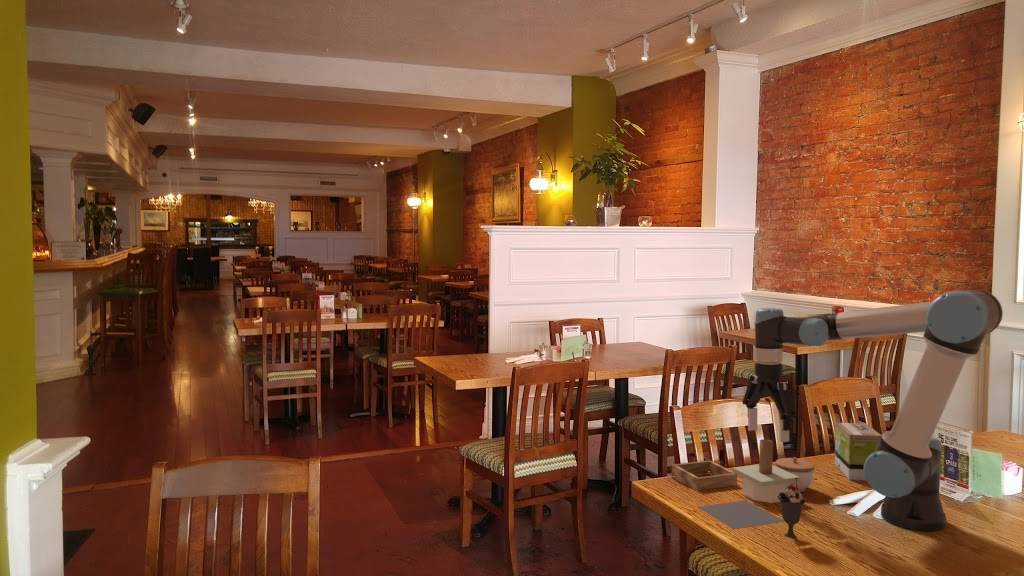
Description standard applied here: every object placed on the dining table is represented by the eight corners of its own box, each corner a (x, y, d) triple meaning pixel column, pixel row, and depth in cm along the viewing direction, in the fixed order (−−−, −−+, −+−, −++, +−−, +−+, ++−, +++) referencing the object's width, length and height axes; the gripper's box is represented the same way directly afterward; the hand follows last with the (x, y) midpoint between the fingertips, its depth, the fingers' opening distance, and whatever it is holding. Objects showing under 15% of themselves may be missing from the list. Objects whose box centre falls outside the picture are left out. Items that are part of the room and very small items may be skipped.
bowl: (795, 501, 204) (796, 480, 204) (761, 506, 200) (761, 485, 200) (768, 487, 215) (768, 468, 215) (735, 492, 212) (735, 472, 211)
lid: (799, 481, 203) (800, 445, 203) (761, 486, 199) (762, 449, 198) (769, 467, 216) (770, 433, 215) (732, 471, 211) (733, 437, 211)
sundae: (803, 534, 181) (805, 476, 180) (805, 545, 175) (807, 485, 174) (776, 531, 183) (777, 473, 182) (776, 541, 177) (778, 481, 176)
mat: (784, 523, 188) (784, 521, 188) (733, 531, 183) (733, 529, 183) (746, 502, 203) (746, 500, 203) (697, 509, 198) (697, 506, 198)
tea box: (833, 465, 237) (835, 421, 236) (865, 466, 236) (867, 422, 235) (848, 480, 222) (849, 433, 221) (882, 482, 221) (884, 434, 220)
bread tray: (737, 486, 216) (737, 473, 216) (697, 492, 211) (697, 478, 211) (709, 472, 229) (710, 460, 229) (671, 477, 225) (671, 464, 224)
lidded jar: (819, 495, 210) (820, 463, 209) (782, 494, 210) (783, 463, 209) (805, 482, 220) (806, 452, 220) (770, 482, 220) (770, 452, 220)
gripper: (810, 368, 195) (809, 445, 196) (751, 355, 218) (750, 424, 219) (788, 369, 192) (787, 447, 193) (730, 357, 216) (730, 426, 217)
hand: (767, 435), depth 206 cm, fingers open, 13 cm apart
